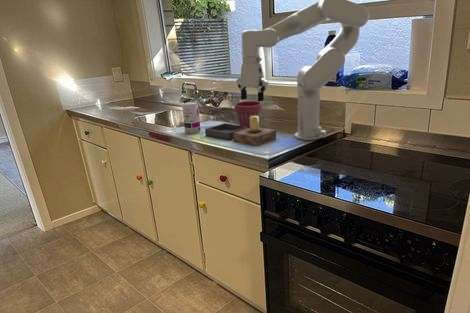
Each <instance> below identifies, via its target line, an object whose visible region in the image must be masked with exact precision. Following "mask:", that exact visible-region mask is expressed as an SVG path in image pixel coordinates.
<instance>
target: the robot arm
mask: <svg viewBox="0 0 470 313" xmlns="http://www.w3.org/2000/svg"><path fill="white" fill-rule="evenodd" d="M369 19H370V12H369V9H367V7H366V6H364V5H362V4H360V3H357V2H353V1H350V0H317V1H316V2H314V3H312V4H310V5H308V6H306V7H303V8H302V9H299V10H298V11H296V12H294V13H293V14H291V15H289V16H288V17H286V18H284V19H283V20H281V21H279V22H277V23H275V24H273V25H271V26H269V27H267V28H264V29H260V30H258V29H247V30H245V29H244V30H243V31H242V32H241V52H242V54H241V56H242V58H241V59H242V64H241V68H240V77H239V78H238V79H236V80H235V81H236V84H237V88H238V89H239V91H240V100H242V101H244V100H247V98H248V96H247V95H248V92H247V88H253V89H254V88H255V89H257V90H258V92H257V102H263V101H264V100H265V98H264V96H265V95H264V93H265V91H266V89H267V88H268V85H269V81H268V80H266V79H265V76H264V70H263V64H262V63H261V62H262V57H261V50H260V49H261V48H273V47H275V46H276V45H277V44H278V43H280V42H281V41H284V40H285V39H288V38H290V37H293V36H297V35H300V34H303V33H306V32H307V31H309V30H311V29H313V28H315V27H317V26H319V25H321V24H323V23H325V22H327V21H329V20H331V21H334V22H337V23H339V24H340V30H339V31H338V33H337V35H336V36H335V37H333V39H332V41H330V42H329V44H327V45H326V46H325V47H324V48H323V49H322V50H320V52H318V54H317V57H316V61H315V62H314V63H313V64H312V65H305V66H303V67H301V69H300V70H299V71H298V73H297V76H296V85H297V86H296V87H297V132H295V133H294V138H295V139H298V140H303V141H304V140H305V141H313V140H319V139H321V138H323V136H324V137H325V136H326V135H327V130H326V129H325V130H324V129H322V126H320V108H321V107H320V106H321V105H320V104H321V101H320V100H321V98H320V97H321V96H320V95H321V94H320V93H321V91H320V89H322V88H323V87H324V86H325V85H326V84H328V83H329V81H331V79H333V78H334V77H335V76H336V75H337V74H338V73H339V72H340V71H341V69H343V67H344V65H345V62H346V56H347V54H349V53H350V51H351V50H352V49H353V48H354V47H355V46H356V45H357V42H358V40H359V37H360V31H361V30H360V29H361V28H363V27H364V26H365V25H366V24H367V23H368V21H369Z"/></svg>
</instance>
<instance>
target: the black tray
mask: <svg viewBox="0 0 470 313" xmlns="http://www.w3.org/2000/svg"><path fill="white" fill-rule="evenodd" d="M246 128H248V127H247V126H240V124H234V123H233V124H232V123H226V122H224V123H220V124H217V125H214V126H210V127H207V128H204V131H205V132H204V133H205V136H206V137H211V138H215V139H220V140H224V141H231V140H234V139H233V133H234V132H237V131H240V130H243V129H246Z"/></svg>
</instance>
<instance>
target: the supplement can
mask: <svg viewBox="0 0 470 313" xmlns="http://www.w3.org/2000/svg"><path fill="white" fill-rule="evenodd" d="M181 108H182V115H183V126H184V132H185V133H186V134H197V133H199V132H200V131H201V119H200V109H199V104H198V102H196V101H191V102H189V101H188V102H184V103H183V104H182V106H181Z"/></svg>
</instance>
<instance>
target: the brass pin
mask: <svg viewBox="0 0 470 313" xmlns="http://www.w3.org/2000/svg"><path fill="white" fill-rule="evenodd" d="M259 121H260V116H259V117H258V116H250V133H254V134H256V133H259V127H260V123H259Z"/></svg>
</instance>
